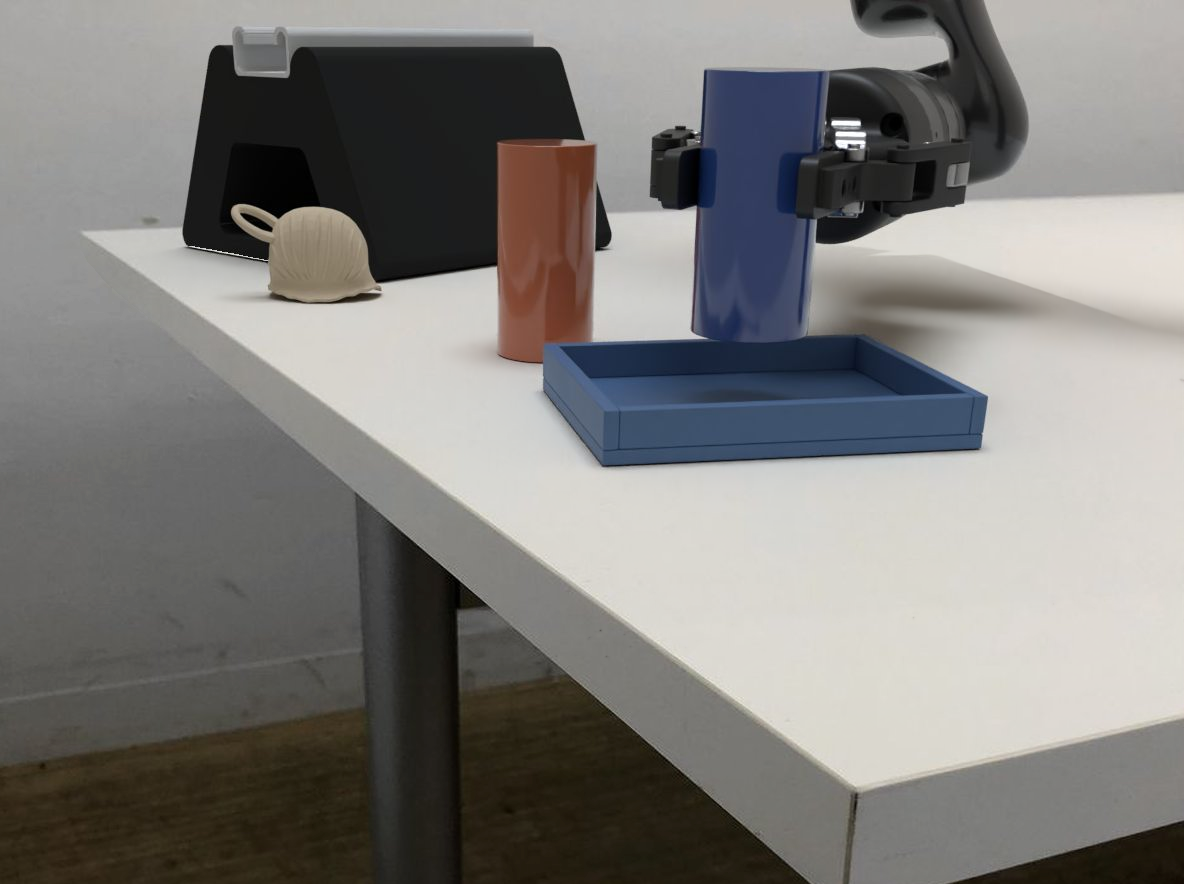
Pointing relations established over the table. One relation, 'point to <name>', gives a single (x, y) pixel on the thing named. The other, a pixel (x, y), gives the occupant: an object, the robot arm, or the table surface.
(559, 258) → the cylinder
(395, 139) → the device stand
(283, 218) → the decorative ornament
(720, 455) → the blue tray
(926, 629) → the table surface
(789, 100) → the blue tall cylinder
